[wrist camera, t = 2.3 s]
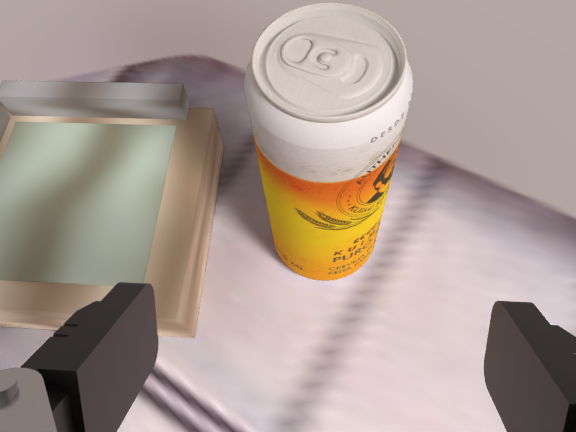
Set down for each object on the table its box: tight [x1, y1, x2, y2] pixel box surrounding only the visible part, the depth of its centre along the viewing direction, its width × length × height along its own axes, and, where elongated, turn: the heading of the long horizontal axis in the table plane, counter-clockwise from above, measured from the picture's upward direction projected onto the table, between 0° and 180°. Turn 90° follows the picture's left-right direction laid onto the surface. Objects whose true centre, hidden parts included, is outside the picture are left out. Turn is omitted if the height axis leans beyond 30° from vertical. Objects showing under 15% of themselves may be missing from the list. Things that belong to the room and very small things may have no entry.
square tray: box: [0, 81, 224, 338], centre depth 29 cm, size 14×13×6 cm
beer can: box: [244, 3, 413, 281], centre depth 24 cm, size 6×6×15 cm
